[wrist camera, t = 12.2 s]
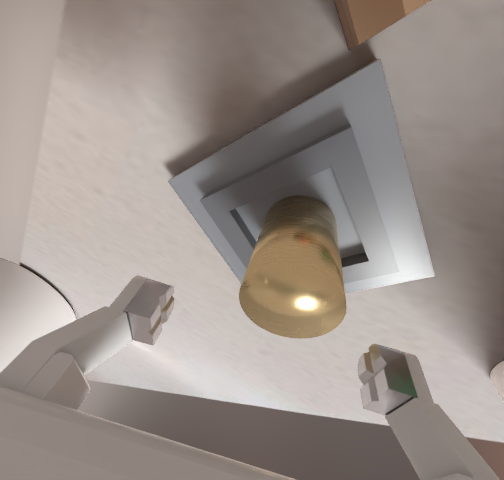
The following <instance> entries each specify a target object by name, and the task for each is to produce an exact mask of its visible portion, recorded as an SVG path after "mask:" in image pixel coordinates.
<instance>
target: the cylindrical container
mask: <svg viewBox="0 0 504 480" xmlns="http://www.w3.org/2000/svg"><path fill="white" fill-rule="evenodd" d="M490 378H491V381H492V383H493V385H494V386H495V388H496V390H497V392H498V394H499V396H500V397H501V399H502V401H503V403H504V361H502V362H500V363H498V364H497V365H496V366H495V367H494V368H493V369H492V371H491V373H490Z"/></svg>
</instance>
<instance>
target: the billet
mask: <svg viewBox="0 0 504 480" xmlns="http://www.w3.org/2000/svg"><path fill="white" fill-rule="evenodd" d="M239 300H240V304H241V307H242V309H243V311H244V312H245V314H246V315H247V316H248V317H249V318H250V319H251V320H252V321H253V322H254V323H255V324H257V325H258V326H259V327H261V328H263V329H265V330H267V331H269V332H271V333H274V334H277V335H280V336H284V337H290V338H312V337H317V336H321V335H324V334H326V333H328V332H330V331H332V330H333V329H335V328H336V327H337V326H338V325H339V324H340V323H341V322H342V320H343V319H344V316H345V314H346V298H345V290H344V281H343V273H342V264H341V255H340V247H339V238H338V230H337V222H336V218H335V216H334V214H333V212H332V210H331V209H330V208H329V207H328V206H327V205H326V204H325V203H323V202H322V201H320V200H318V199H316V198H313V197H310V196H304V195H295V196H290V197H286V198H284V199H281V200H280V201H278V202H276V203H275V204H274V205H273V206H272V207H271V208H270V209H269V211H268V213H267V214H266V217H265V220H264V223H263V225H262V228H261V231H260V234H259V237H258V240H257V242H256V245H255V248H254V251H253V254H252V257H251V259H250V262H249V265H248V268H247V271H246V273H245V276H244V279H243V282H242V285H241V288H240V292H239Z"/></svg>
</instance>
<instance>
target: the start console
mask: <svg viewBox="0 0 504 480" xmlns="http://www.w3.org/2000/svg"><path fill="white" fill-rule="evenodd" d="M334 1H335V4H336V8H337V11H338V14H339V18H340V21H341V25H342V28H343V31H344V35H345V38H346V41H347V45H348V48H349V50H350V49H352V48H354V47H356V46H358V45H360V44H361V43H363V42H365V41H366V40H368V39H369V38H371V37H373V36H374V35H376V34H378V33H379V32H381V31H382V30H384V29H386V28H387V27H389V26H390V25H392V24H394V23H395V22H397V21H399V20H400V19H402V18H403V17H405V16H407V15H408V14H410V13H411V12H413V11H415V10H416V9H418V8H419V7H421V6H423V5H424V4H426V3H428V2H429V1H431V0H334Z"/></svg>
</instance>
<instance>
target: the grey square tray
mask: <svg viewBox="0 0 504 480" xmlns="http://www.w3.org/2000/svg"><path fill="white" fill-rule="evenodd" d="M168 182H169V184H170V185H171V186H172V188H173V189H174V191H175V192H176V193H177V195H178V196H179V198H180V199H181V200H182V202H183V203H184V204H185V206H186V207H187V209H188V210H189V211H190V213H191V214H192V216H193V217H194V218H195V220H196V221H197V223H198V224H199V225H200V227H201V228H202V229H203V231H204V232H205V234H206V235H207V236H208V238H209V239H210V241H211V242H212V243H213V245H214V246H215V248H216V249H217V250H218V252H219V253H220V254H221V256H222V257H223V259H224V260H225V261H226V263H227V264H228V266H229V267H230V268H231V270H232V271H233V273H234V274H235V275H236V277H237V278H238V280H239V281H240V282H241V284H242V282H243V279H244V276H245V273H246V271H247V268H248V265H249V262H250V259H251V257H252V254H253V251H254V248H255V245H256V242H257V240H258V237H259V234H260V231H261V228H262V225H263V223H264V220H265V217H266V214H267V213H268V211H269V209H270V208H271V207H272V206H273V205H274V204H275V203H276V202H278V201H280V200H281V199H284V198H286V197H290V196H295V195H304V196H310V197H313V198H316V199H318V200H320V201H322V202H323V203H325V204H326V205H327V206H328V207H329V208H330V209H331V210H332V212H333V214H334V216H335V218H336V222H337V230H338V238H339V247H340V255H341V264H342V273H343V281H344V290H345V294H346V293H351V292H356V291H361V290H367V289H372V288H377V287H382V286H387V285H392V284H397V283H402V282H408V281H413V280H418V279H423V278H428V277H433V276H435V275H434V271H433V267H432V263H431V259H430V255H429V251H428V247H427V243H426V239H425V235H424V231H423V227H422V223H421V219H420V215H419V211H418V207H417V203H416V199H415V195H414V191H413V187H412V183H411V179H410V175H409V171H408V167H407V163H406V159H405V155H404V151H403V147H402V143H401V139H400V135H399V131H398V127H397V123H396V119H395V115H394V111H393V107H392V103H391V99H390V95H389V91H388V87H387V83H386V79H385V75H384V71H383V67H382V63H381V59H376V60H374V61H373V62H371V63H369V64H367V65H366V66H364V67H362V68H361V69H359V70H357V71H355V72H354V73H352V74H350V75H348V76H347V77H345V78H343V79H342V80H340V81H338V82H336V83H335V84H333V85H331V86H329V87H328V88H326V89H324V90H322V91H321V92H319V93H317V94H316V95H314V96H312V97H310V98H309V99H307V100H305V101H303V102H302V103H300V104H298V105H297V106H295V107H293V108H291V109H290V110H288V111H286V112H284V113H283V114H281V115H279V116H278V117H276V118H274V119H272V120H271V121H269V122H267V123H265V124H264V125H262V126H260V127H258V128H257V129H255V130H253V131H252V132H250V133H248V134H246V135H245V136H243V137H241V138H239V139H238V140H236V141H234V142H233V143H231V144H229V145H227V146H226V147H224V148H222V149H220V150H219V151H217V152H215V153H214V154H212V155H210V156H208V157H207V158H205V159H203V160H201V161H200V162H198V163H196V164H194V165H193V166H191V167H189V168H188V169H186V170H184V171H182V172H181V173H179V174H177V175H175V176H174V177H173V178H171V179H170V180H169V181H168Z"/></svg>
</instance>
